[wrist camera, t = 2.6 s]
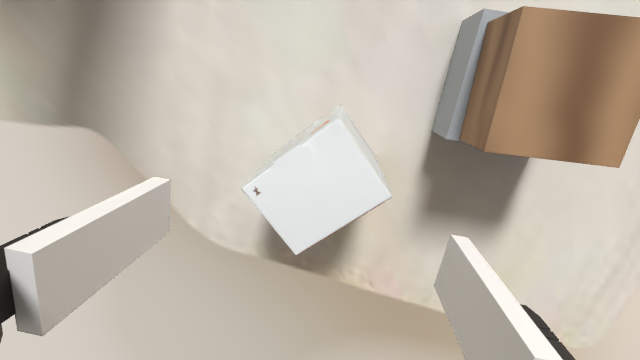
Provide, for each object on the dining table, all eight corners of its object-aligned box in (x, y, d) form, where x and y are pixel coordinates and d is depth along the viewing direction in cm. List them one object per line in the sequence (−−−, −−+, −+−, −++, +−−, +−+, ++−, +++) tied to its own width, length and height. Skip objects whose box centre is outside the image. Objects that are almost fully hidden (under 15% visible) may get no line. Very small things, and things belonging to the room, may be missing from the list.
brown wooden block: (459, 139, 26) (484, 151, 21) (487, 22, 23) (523, 6, 19) (568, 152, 26) (619, 167, 21) (610, 34, 23) (679, 21, 18)
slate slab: (431, 130, 31) (446, 139, 26) (461, 21, 28) (484, 8, 23) (531, 148, 31) (564, 160, 26) (573, 39, 28) (619, 30, 23)
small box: (314, 195, 34) (294, 259, 22) (278, 148, 33) (236, 187, 20) (377, 153, 32) (395, 198, 20) (341, 102, 31) (337, 114, 18)
